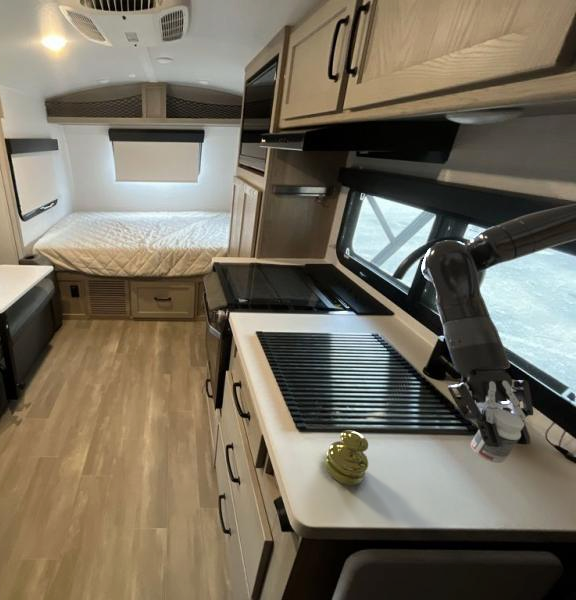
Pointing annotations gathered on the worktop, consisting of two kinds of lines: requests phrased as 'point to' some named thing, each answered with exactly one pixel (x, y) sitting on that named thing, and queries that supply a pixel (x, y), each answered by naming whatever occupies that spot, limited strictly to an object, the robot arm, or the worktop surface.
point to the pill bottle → (508, 434)
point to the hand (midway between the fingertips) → (508, 444)
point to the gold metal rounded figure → (348, 458)
